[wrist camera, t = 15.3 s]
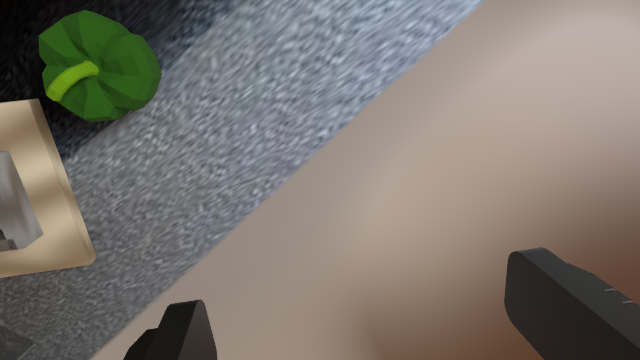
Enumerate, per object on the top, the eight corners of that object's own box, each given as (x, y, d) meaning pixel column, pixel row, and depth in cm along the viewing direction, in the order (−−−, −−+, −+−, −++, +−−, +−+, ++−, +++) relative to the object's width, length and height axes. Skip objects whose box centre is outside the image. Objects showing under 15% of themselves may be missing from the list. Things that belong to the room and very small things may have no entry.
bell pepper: (142, 5, 32) (86, -17, 23) (188, 89, 35) (154, 100, 26) (61, 42, 33) (-26, 36, 23) (113, 122, 35) (53, 145, 26)
